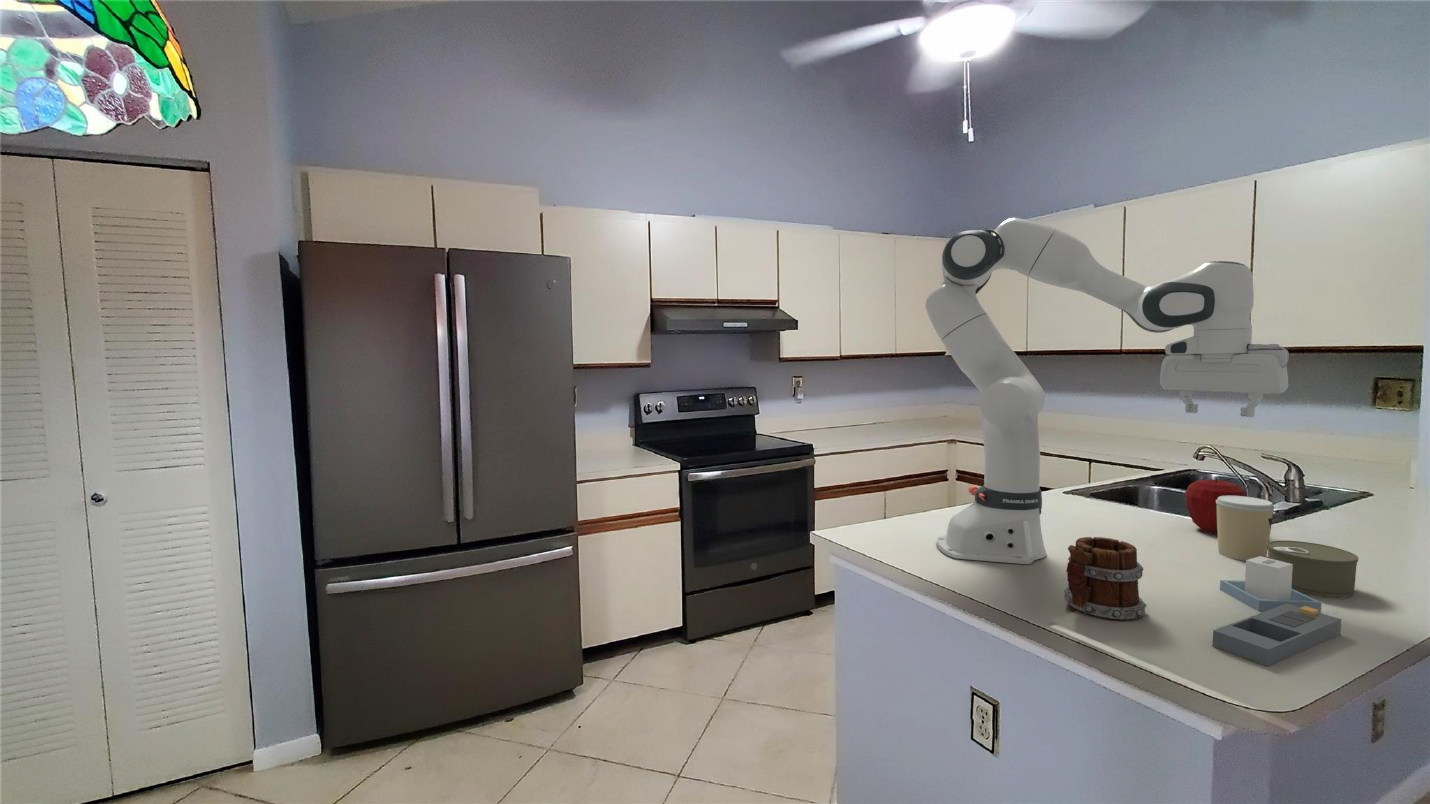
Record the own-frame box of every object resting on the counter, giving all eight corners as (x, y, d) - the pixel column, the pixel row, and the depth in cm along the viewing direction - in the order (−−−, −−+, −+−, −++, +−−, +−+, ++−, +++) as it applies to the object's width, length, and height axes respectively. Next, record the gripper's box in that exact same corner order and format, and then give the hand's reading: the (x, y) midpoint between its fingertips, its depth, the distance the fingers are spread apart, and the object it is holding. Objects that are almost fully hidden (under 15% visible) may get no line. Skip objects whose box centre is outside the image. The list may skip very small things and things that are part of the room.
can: (1374, 602, 105) (1377, 563, 104) (1290, 595, 108) (1292, 558, 108) (1326, 577, 117) (1328, 542, 116) (1251, 572, 120) (1253, 538, 119)
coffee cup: (1283, 564, 124) (1286, 506, 123) (1230, 561, 126) (1233, 505, 125) (1252, 549, 133) (1255, 495, 132) (1203, 547, 135) (1206, 494, 134)
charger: (1276, 609, 101) (1279, 567, 101) (1244, 599, 105) (1246, 559, 105) (1290, 604, 103) (1292, 563, 103) (1257, 594, 107) (1260, 555, 107)
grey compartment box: (1267, 672, 83) (1268, 645, 83) (1212, 651, 89) (1213, 626, 89) (1352, 633, 93) (1354, 610, 93) (1298, 617, 99) (1299, 595, 99)
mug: (1165, 615, 101) (1159, 530, 98) (1113, 649, 95) (1106, 560, 92) (1094, 591, 111) (1088, 514, 109) (1044, 620, 105) (1036, 539, 103)
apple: (1250, 541, 138) (1253, 484, 137) (1186, 534, 144) (1188, 479, 143) (1241, 528, 148) (1244, 474, 147) (1181, 522, 154) (1183, 470, 153)
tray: (1258, 615, 100) (1259, 600, 100) (1219, 593, 109) (1220, 580, 109) (1320, 617, 99) (1321, 602, 99) (1275, 595, 108) (1276, 581, 108)
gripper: (1297, 343, 111) (1293, 418, 112) (1174, 345, 130) (1171, 410, 131) (1280, 343, 108) (1276, 420, 109) (1156, 346, 127) (1154, 411, 128)
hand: (1218, 414), depth 120 cm, fingers open, 8 cm apart
